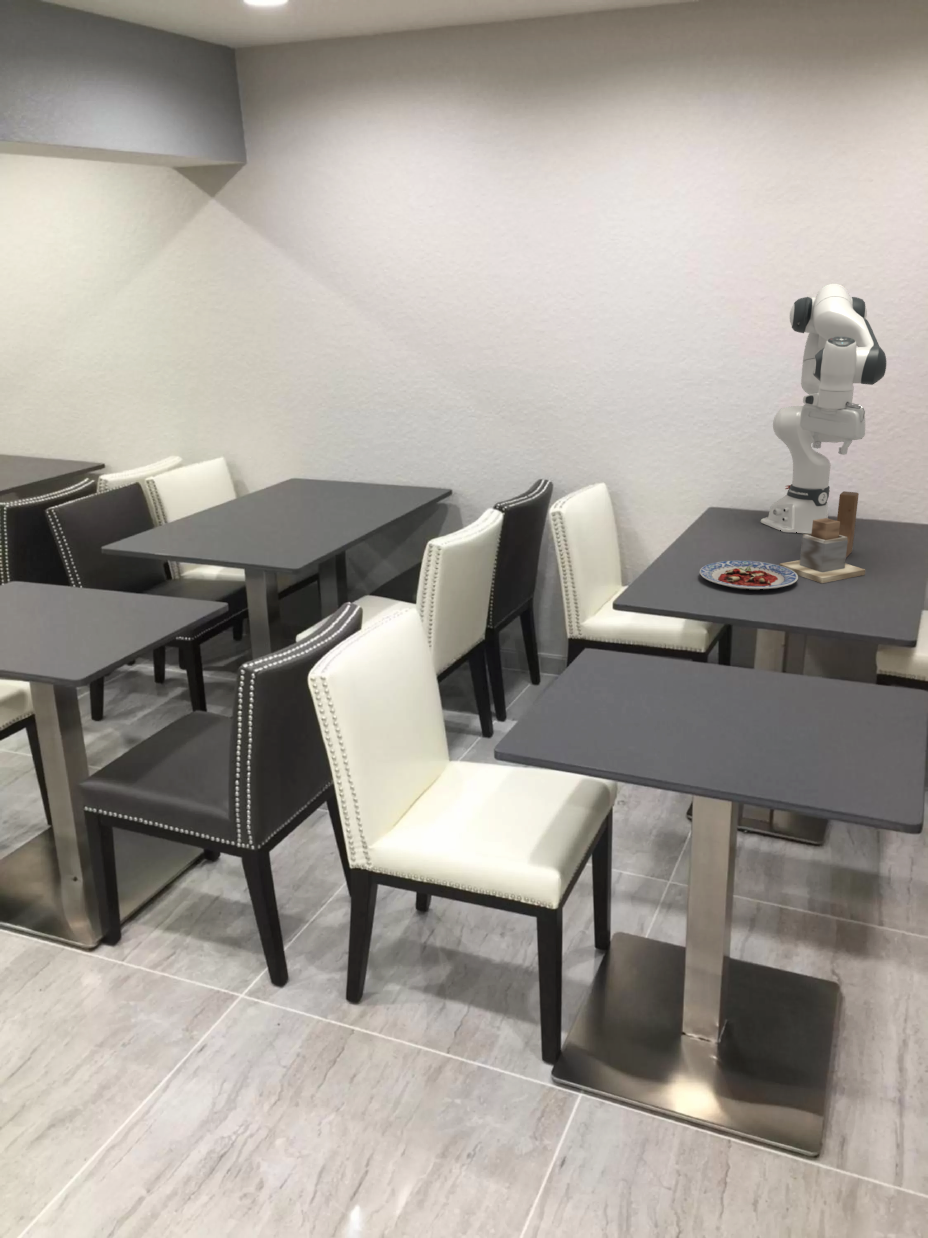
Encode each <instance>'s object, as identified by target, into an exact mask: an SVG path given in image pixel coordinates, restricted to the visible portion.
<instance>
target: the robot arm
mask: <svg viewBox="0 0 928 1238" xmlns="http://www.w3.org/2000/svg"><path fill="white" fill-rule="evenodd" d="M867 312H868V311H867V306H866V302H865V301H864V299H862V298H860V297H858V296H857V297H856V296H851V295H850V292H849V291H848V289H847V288H846V287H845V286H843V285H841V284H839V283H829V284H826V285H824V286H822V287H821V288H820V289H819V291H818V292H817V294H816V296H813V297H811V296H804V297H801V298H798V299H796V300H795V301H794V302H793V305H792V306H791V308H790V311H789V322H790V325H791V329H792V330H793V331H794V332H796V333H800V334H805V333H807V334H808V335H807V338H806V342H805V346H804V350H803V356H802V364H801V365H802V367H801V378H800V379H801V380H800V385H801V388H802V390H803V392H804V393H806V394H807V395H804V396H802V397H803V398H802V403H803V405H800V406H799V405H796V406H788V407H783V408H780V409H779V410H778V411H777V412H776V414H775V415H774V418H773V422H772V428H773V432H774V434H775V436H776V437H777V439H779V440H780V441H781V442H783V443H784V445H785V446H786V447H787V449H788V450H789V453H790V456H791V459H792V480H791V481H792V482H791V484H790V485H789V484H788V485H785V486H784V487H785V488H784V489H785V490H787V493H786V495H784V496H783V497H782V498H780V499H778V500H777V501H776V502H773V504H771V506H770V509H769V511H768V516H766V517H763V518H761V520H760V523H761V524H764V525H766V526H767V527H771V528H773V529H776V530H778V531H780V530H781V531H780V532H782V533H796V532H797V533H798V534H809V533H812V524H813V520H817V519H823V518H828V519H829V511H828V508H829V507H828V505H829V504H828V500H829V497H830V492H831V491H830V486H829V484H830V474H831V466H832V465H831V462H830V460H829V458H828V457H827V456H825V455H823V454H822V453H820V452H818V451H816V450H815V449H821V447H822V443H830V444H831V443H834V444H835V443H842V442H843V444H842V445H841V446H840V447H838V454H839V455H847V454H848V449H849V447H850V446H851V445H852V442H853V441H858V440H859V441H860V440H862V439H864V437H865V435H866V416H865V415H866V410H865V408H864V407H863V406H862V404H860V403H854V402H853V397H854V389H855V388H854V387H855V386H854V384H862V385H869V386H870V385H871V386H872V385H875V384H876V383H878V382H879V381H881V379H883V378H885V374H886V371H887V365H888V364H887V363H888V362H887V361H888V360H887V356H886V353H885V351H884V349H882V348H881V346H880V344H879V342H878V339H877V337H876V335H875V333H874V331H873V329H872V326H871V324H870V323H869V320H868V319H867V315H868V313H867ZM797 533H796V534H797Z"/></svg>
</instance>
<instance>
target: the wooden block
mask: <svg viewBox="0 0 928 1238" xmlns="http://www.w3.org/2000/svg"><path fill="white" fill-rule="evenodd" d="M859 494H860V493H859V492H858V491H857V492H856V491H855V492H853V491H847V490H845V491H842V492H841V493H840V494H839V498H838V499H839V500H838V505H837V506H838V507H837V517H836V518H837V519H836V521H839V522H840V528H839V535H841V536H845V537H848V538H847V540H848V543H847V552H846V559H847V558H848V557H849V556H850V555H851V553H852V552H853V546H854V537H855V529H856V519H857V513H858V505H859V504H858V503H859Z"/></svg>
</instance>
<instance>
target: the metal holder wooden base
mask: <svg viewBox="0 0 928 1238" xmlns="http://www.w3.org/2000/svg"><path fill="white" fill-rule="evenodd" d="M811 534H812V533H802V537H801V545H800V546H801V547H800V556H799V560H793V561H786V562H782V563H779V564H778V565H779V566H782V567H786V568H788V569H790V570H792V571H794V572H795V573H796V574H797V575H798V577H802V578H804V579H807V580H811V581H814V582H816V583H819V584H825V583H831V582H832V583H833V582H835V581H841V580H847V579H851V578H856V577H860V576H865V575H866V569H865V568H861V567H859V566H855V565H851V564H848V563H846V560H847V558H846V552H847V543H848V540H847V538H848V537H845V536H841V535H839V537H838V538H836V539H830V540H823V539H819V538H816V537H812V536H811Z"/></svg>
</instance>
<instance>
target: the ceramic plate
mask: <svg viewBox="0 0 928 1238" xmlns="http://www.w3.org/2000/svg"><path fill="white" fill-rule="evenodd" d="M699 574H700V576H701V577H702V578H703V579H705V580H707V581H709V582H712V583H714V584H718V585H722V586H725V587H729V588H733V589H739V590H746V589H749V591H750V590H751V591H753V590H755V591H761V590H760V589H763V590H769V589H778V588H783V587H787V586H791V585H793V584H795V583H796V582H797V581H798V579H799V575H797V574H796V573H795V572H794V571H792V570H790V569H788V568H786V567H782V566H779V564H775V563H769V562H763V561H757V560H756V561H755V560H725V561H717V562H712V563H708V564H705V565H704V566H702V567H701V568H700V569H699Z"/></svg>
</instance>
